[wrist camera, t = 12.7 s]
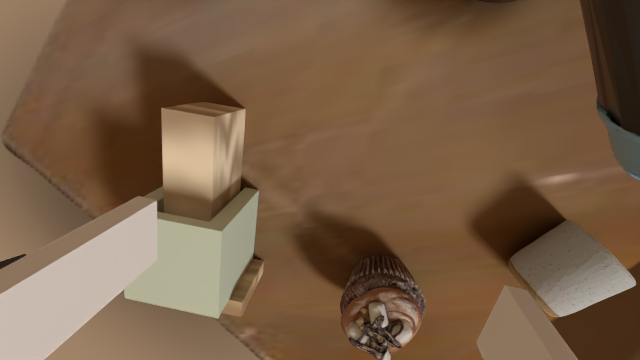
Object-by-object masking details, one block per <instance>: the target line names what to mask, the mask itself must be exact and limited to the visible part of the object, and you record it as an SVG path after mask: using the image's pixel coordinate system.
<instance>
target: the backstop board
mask: <svg viewBox="0 0 640 360" xmlns="http://www.w3.org/2000/svg"><path fill="white" fill-rule="evenodd" d="M263 265H264V261H262V260H257V259H253V260H252V261H251V263H250V265H249V266H248V268H247V270H246V272H245V273H244V275H243V277H242V278H241V280H240V282H239V283H238V285H237V287H236V289H235V290H234V292H233V294H232V295H231V297H230V299H229V301H228V302H227V304H226V306H225V307H224V309H223V311H222V312H221V313H225V314H229V315H234V316H239V317H241V316H242V314H243V312H244V310H245V308H246V306H247V304H248V302H249V300H250V298H251V296H252V294H253V292H254V290H255V288H256V286H257V284H258V282H259V280H260V278H261V276H262V274H263Z"/></svg>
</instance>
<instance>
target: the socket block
mask: <svg viewBox="0 0 640 360" xmlns="http://www.w3.org/2000/svg"><path fill="white" fill-rule="evenodd" d="M258 195H259V190H256V189H251V188H244V189H243V190H242V191H241V192H240V193H239V194H238V195H237V196H236V197H235V198H234V199H233V200H232V201H231V202H230V203H229V204H228V205H226V206H225V207H224V208H223V209H222V210H221V211H220V212H219V213H218V214H217V215H216V216H215V217H214V218H213V219H212V220H211V221H210V222H207V221H202V220H197V219H192V218H187V217H182V216H177V215H172V214H167V213H164V196H163V186H162V187H160V188H158V189H156V190H155V191H153V192H151V193H149V194H147V195H146V196H144V197H145V198H149V199H154V200H157V260H156V261H155V262H154V263H153V264H152V265H151V266H150V267H148V268H147V269H146V270H145V271H144V272H143V273H142V274H141V275H139V276H138V277H137V278H136V279H135V280H134V281H133V282H131V283H130V284H129V285H128V286H127V287H126V288H125V289H124V293H125V298H127V299H132V300H136V301H141V302H145V303H150V304H155V305H159V306H164V307H168V308H173V309H177V310H182V311H187V312H191V313H196V314H201V315H205V316H210V317H214V318H219V316H220V314H221V312H222V311H223V309H224V307H225V306H226V304H227V302H228V301H229V299H230V297H231V295H232V294H233V292H234V290H235V289H236V287H237V285H238V283H239V282H240V280H241V278H242V277H243V275H244V273H245V272H246V270H247V268H248V266H249V265H250V263H251V261H252V260H253V253H254V242H255V230H256V218H257V207H258Z"/></svg>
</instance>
